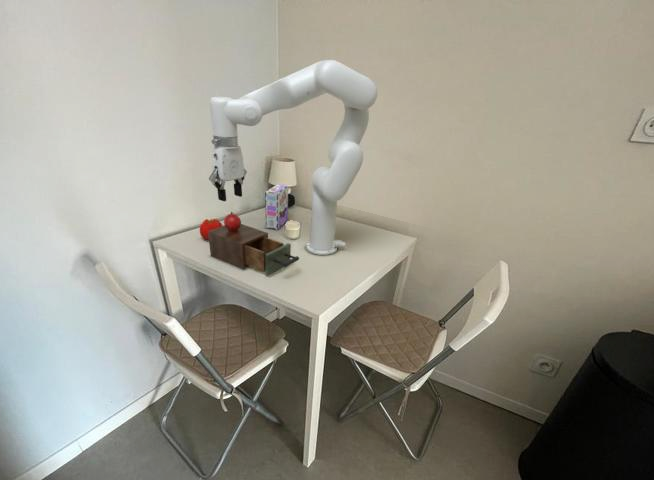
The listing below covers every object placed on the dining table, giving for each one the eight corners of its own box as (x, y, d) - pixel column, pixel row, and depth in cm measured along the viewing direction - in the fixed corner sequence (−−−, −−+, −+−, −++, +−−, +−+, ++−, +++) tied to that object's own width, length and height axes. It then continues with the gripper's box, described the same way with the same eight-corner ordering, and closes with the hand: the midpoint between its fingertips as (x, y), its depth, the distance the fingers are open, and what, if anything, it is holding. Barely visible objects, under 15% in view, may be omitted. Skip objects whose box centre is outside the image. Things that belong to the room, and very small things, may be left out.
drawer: (303, 268, 122) (303, 248, 118) (281, 282, 114) (281, 260, 109) (258, 251, 132) (257, 232, 127) (235, 262, 123) (233, 242, 119)
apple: (242, 227, 128) (241, 209, 124) (240, 233, 123) (238, 215, 119) (226, 226, 128) (224, 208, 124) (223, 233, 122) (221, 214, 119)
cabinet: (268, 257, 130) (268, 232, 125) (243, 269, 121) (241, 244, 116) (236, 245, 138) (234, 221, 133) (210, 256, 128) (207, 231, 123)
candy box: (277, 230, 153) (277, 193, 144) (265, 228, 155) (264, 191, 146) (288, 220, 165) (288, 185, 156) (276, 218, 166) (276, 183, 157)
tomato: (219, 233, 147) (218, 216, 143) (227, 240, 141) (225, 223, 137) (197, 236, 142) (195, 219, 138) (204, 244, 136) (201, 226, 132)
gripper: (212, 146, 101) (218, 206, 111) (253, 141, 114) (255, 195, 123) (195, 143, 105) (203, 201, 114) (237, 138, 117) (240, 191, 127)
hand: (230, 197), depth 119 cm, fingers open, 6 cm apart
